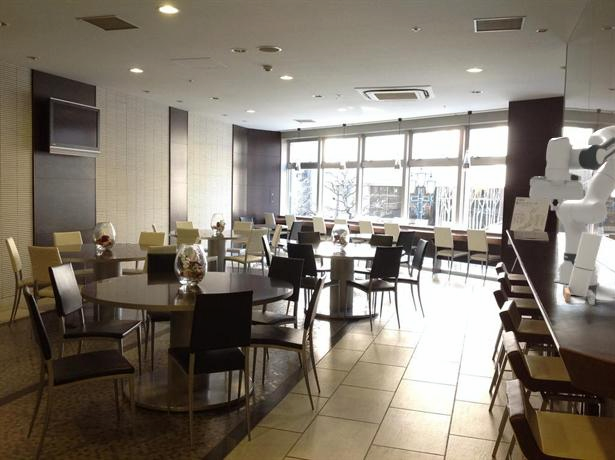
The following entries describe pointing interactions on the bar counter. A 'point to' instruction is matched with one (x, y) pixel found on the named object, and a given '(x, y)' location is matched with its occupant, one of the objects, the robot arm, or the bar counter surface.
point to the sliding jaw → (566, 293)
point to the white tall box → (584, 264)
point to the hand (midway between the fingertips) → (555, 210)
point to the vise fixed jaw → (591, 297)
